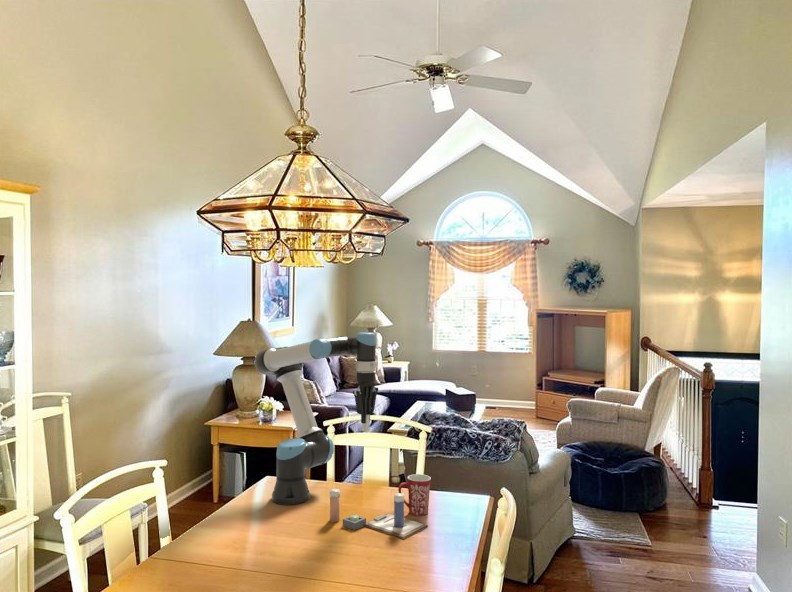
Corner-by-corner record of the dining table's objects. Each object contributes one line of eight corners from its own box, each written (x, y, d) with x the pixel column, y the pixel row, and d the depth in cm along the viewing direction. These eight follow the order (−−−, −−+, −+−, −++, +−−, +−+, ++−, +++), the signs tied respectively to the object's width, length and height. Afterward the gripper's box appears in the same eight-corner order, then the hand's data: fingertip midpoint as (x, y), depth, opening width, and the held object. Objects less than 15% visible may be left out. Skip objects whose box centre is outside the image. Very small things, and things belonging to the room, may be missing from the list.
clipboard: (364, 526, 212) (364, 521, 212) (388, 515, 223) (389, 511, 223) (403, 539, 201) (403, 534, 201) (427, 526, 212) (427, 522, 212)
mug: (426, 507, 231) (427, 473, 231) (433, 515, 223) (433, 480, 223) (395, 509, 229) (395, 475, 229) (401, 518, 220) (401, 482, 220)
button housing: (342, 526, 212) (342, 519, 212) (353, 521, 217) (354, 514, 217) (354, 530, 208) (354, 523, 208) (366, 525, 213) (366, 518, 213)
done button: (348, 523, 212) (348, 517, 212) (354, 521, 215) (354, 514, 215) (354, 525, 210) (354, 519, 210) (360, 523, 213) (360, 516, 213)
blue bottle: (391, 526, 210) (391, 495, 210) (398, 522, 212) (398, 492, 212) (399, 528, 207) (400, 497, 207) (406, 525, 210) (406, 494, 210)
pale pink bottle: (327, 520, 217) (327, 490, 217) (334, 517, 220) (334, 488, 220) (334, 523, 215) (334, 492, 215) (341, 520, 218) (342, 490, 218)
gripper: (362, 374, 226) (361, 435, 226) (383, 370, 236) (383, 429, 236) (347, 372, 231) (347, 432, 231) (369, 369, 241) (369, 426, 241)
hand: (365, 430), depth 233 cm, fingers closed
